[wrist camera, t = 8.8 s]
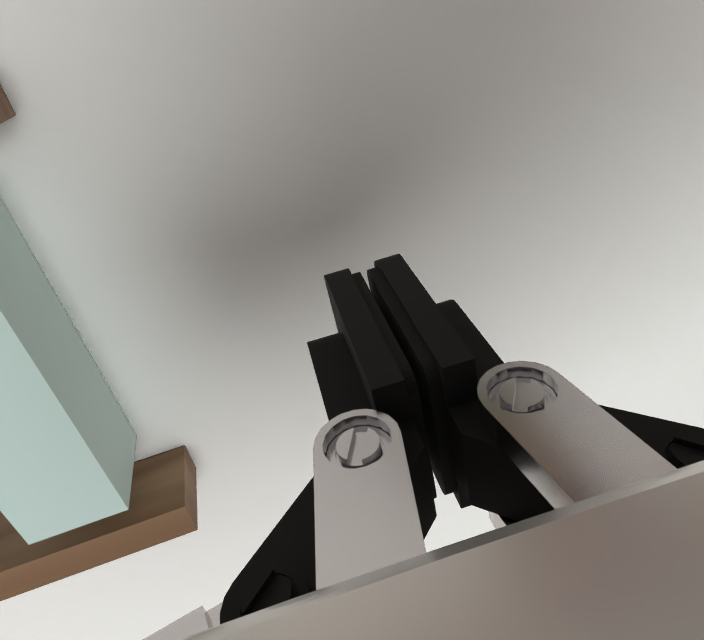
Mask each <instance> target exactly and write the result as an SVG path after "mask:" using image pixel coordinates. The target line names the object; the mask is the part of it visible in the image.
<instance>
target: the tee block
mask: <svg viewBox="0 0 704 640" xmlns="http://www.w3.org/2000/svg"><path fill="white" fill-rule="evenodd" d="M136 439H137V435H136V434H135V432H134V430H133V428H132V427H131V425H130V423H129V421H128V420H127V418H126V416H125V414H124V413H123V411H122V409H121V407H120V406H119V404H118V402H117V400H116V399H115V397H114V395H113V393H112V392H111V390H110V388H109V386H108V385H107V383H106V381H105V379H104V377H103V376H102V374H101V372H100V370H99V369H98V367H97V365H96V363H95V362H94V360H93V358H92V356H91V355H90V353H89V351H88V349H87V348H86V346H85V344H84V342H83V341H82V339H81V337H80V335H79V334H78V332H77V330H76V328H75V327H74V325H73V323H72V321H71V320H70V318H69V316H68V314H67V313H66V311H65V309H64V307H63V306H62V304H61V302H60V300H59V299H58V297H57V295H56V293H55V292H54V290H53V288H52V286H51V285H50V283H49V281H48V279H47V278H46V276H45V274H44V272H43V270H42V269H41V267H40V265H39V263H38V262H37V260H36V258H35V256H34V255H33V253H32V251H31V249H30V248H29V246H28V244H27V242H26V241H25V239H24V237H23V235H22V234H21V232H20V230H19V228H18V227H17V225H16V223H15V221H14V220H13V218H12V216H11V214H10V213H9V211H8V209H7V207H6V206H5V204H4V202H3V200H2V199H1V197H0V511H1V512H2V513H3V515H4V516H5V517H6V518H7V519H8V521H9V522H10V523H11V524H12V525H13V527H14V528H15V529H16V530H17V531H18V533H19V534H20V535H21V536H22V537H23V539H24V540H25V541H26V542H27V543H28V545H30V544H33V543H35V542H38V541H41V540H44V539H47V538H49V537H52V536H55V535H58V534H61V533H64V532H66V531H69V530H72V529H75V528H78V527H81V526H83V525H86V524H89V523H92V522H95V521H98V520H100V519H103V518H106V517H109V516H112V515H115V514H117V513H120V512H123V511H126V510H128V509H129V501H130V492H131V483H132V474H133V465H134V456H135V447H136Z"/></svg>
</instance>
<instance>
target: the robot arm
mask: <svg viewBox="0 0 704 640" xmlns="http://www.w3.org/2000/svg"><path fill="white" fill-rule="evenodd" d="M374 266H375V268H372V269H368V270H367V276H368V281H369V286H370V290H371V291H370V290H369V288H368V286H367V284H366V282H365V280H364V278H363V277H362V275H361V273H360V272H358V273H354V274H351V272H350V270H349V268H348V269H344V270H341V271H337V272H334V273H330V274H327V275H324V278H325V283H326V287H327V291H328V294H329V298H330V302H331V306H332V310H333V314H334V317H335V321H336V325H337V329H338V333H337V334H333V335H330V336H327V337H323V338H320V339H317V340H313V341H310V342H307V344H308V348H309V351H310V355H311V358H312V362H313V366H314V369H315V373H316V376H317V380H318V384H319V387H320V391H321V394H322V398H323V401H324V405H325V409H326V412H327V416H328V419H329V422H328V423H326V424H325V425H324V426H323V427H322V428H321V429H320V431H319V433H318V435H317V436H316V438H315V442H314V448H313V463H314V476H313V478H312V479H311V480H310V482H309V483H308V484H307V486H306V487H305V488H304V490H303V491H302V492H301V494H300V495H299V496H298V498H297V499H296V500H295V501H294V503H293V504H292V505H291V507H290V508H289V509H288V511H287V512H286V513H285V515H284V516H283V517H282V519H281V520H280V521H279V523H278V524H277V525H276V526H275V528H274V529H273V530H272V532H271V533H270V534H269V536H268V537H267V538H266V540H265V541H264V542H263V544H262V545H261V546H260V547H259V549H258V550H257V551H256V553H255V554H254V555H253V557H252V558H251V559H250V561H249V562H248V563H247V565H246V566H245V567H244V569H243V570H242V571H241V572H240V574H239V575H238V576H237V578H236V579H235V580H234V582H233V583H232V585H231V587H230V588H229V590H228V592H227V593H226V595H225V597H224V600H223V602H222V603H220V604H219V605H217V606H215V607H214V608H212V609H210V610H208V611H207V612H206V610H205V609H204V607H203V606H201V607H199V608H197V609H196V610H194V611H192V612H190V613H189V614H187V615H185V616H183V617H182V618H180V619H178V620H176V621H175V622H173V623H171V624H169V625H168V626H166V627H164V628H162V629H161V630H159V631H157V632H155V633H154V634H152V635H150V636H148V637H147V638H145V639H143V640H704V429H703V428H699V427H695V426H690V425H686V424H681V423H677V422H672V421H668V420H664V419H659V418H655V417H650V416H646V415H641V414H637V413H633V412H628V411H624V410H619V409H615V408H611V407H606V406H602V405H598V404H596V403H595V402H594V401H593V400H592V399H590V398H589V397H588V396H587V395H585V394H584V393H583V392H582V391H580V390H579V389H578V388H577V387H575V386H574V385H573V384H572V383H570V382H569V381H568V380H567V379H566V378H564V377H563V376H562V375H561V374H559V373H558V372H556V371H555V370H553V369H551V368H550V367H548V366H545V365H542V364H539V363H536V362H528V361H515V362H507V363H504V362H503V361H502V360H501V359H500V357H499V356H498V355H497V354H496V352H495V351H494V350H493V349H492V347H491V346H490V345H489V343H488V342H487V341H486V340H485V338H484V337H483V336H482V335H481V333H480V332H479V331H478V329H477V328H476V327H475V326H474V324H473V323H472V322H471V321H470V319H469V318H468V317H467V315H466V314H465V313H464V312H463V310H462V309H461V308H460V307H459V305H458V304H457V303H456V302H455V301H454V300H448V301H444V302H441V303H438V304H436V303H435V302H434V301H433V299H432V298H431V296H430V295H429V294H428V292H427V291H426V290H425V288H424V287H423V285H422V284H421V283H420V281H419V280H418V278H417V277H416V276H415V274H414V273H413V271H412V270H411V269H410V267H409V266H408V264H407V263H406V262H405V260H404V259H403V258H402V256H401V255H400V254H397V255H393V256H390V257H386V258H383V259H379V260H376V261H375V262H374ZM432 470H433V471H432ZM433 473H434V475H435V477H436V479H437V481H438V483H439V485H440V488H441V490H442V492H443V493H444V494H445V495H446V494H449V493H452V492H453V493H454V495H455V497H456V499H457V501H458V503H459V505H460V507H461V508H464V507H467V506H470V505H473V506H476V507H479V508H481V509H484V510H487V511H489V518H490V520H491V522H492V524H493V526H494V527H495V530H492V531H489V532H486V533H484V534H481V535H478V536H475V537H472V538H469V539H466V540H463V541H460V542H457V543H454V544H451V545H448V546H445V547H442V548H439V549H436V550H433V551H430V552H427V553H426V549H425V544H424V539H425V537H426V535H427V533H428V531H429V529H430V527H431V525H432V524H433V522H434V520H435V518H436V516H437V514H436V509H435V503H434V498H436V497H437V495H436V489H435V483H434V477H433Z"/></svg>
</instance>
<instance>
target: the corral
mask: <svg viewBox="0 0 704 640" xmlns="http://www.w3.org/2000/svg"><path fill="white" fill-rule="evenodd" d="M13 116H15V113H14V111H13V109H12V107H11V105H10V103H9V101H8V99H7V97H6V95H5V93H4V91H3V89H2V88H1V86H0V123H2V122H4V121H6V120H8V119H9V118H11V117H13ZM196 530H198V527H197V490H196V467H195V465H194V463H193V461H192V459H191V457H190V455H189V453H188V451H187V450H186V448H185V446H182V447H179V448H176V449H173V450H171V451H168V452H165V453H162V454H159V455H156V456H153V457H150V458H147V459H144V460H141V461H138V462H135V463H134V465H133V474H132V483H131V492H130V501H129V509H128V510H126V511H123V512H120V513H117V514H115V515H112V516H109V517H106V518H103V519H100V520H98V521H95V522H92V523H89V524H86V525H83V526H81V527H78V528H75V529H72V530H69V531H66V532H64V533H61V534H58V535H55V536H52V537H49V538H47V539H44V540H41V541H38V542H35V543H33V544H30V545H28V543H27V542H26V541H25V540H24V539H23V537H22V536H21V535H20V534H19V533H18V531H17V530H16V529H15V528H14V527H13V525H12V524H11V523H10V522H9V521H8V519H7V518H6V517H5V516H4V515H3V513H2V512H1V511H0V601H2V600H5V599H8V598H11V597H13V596H16V595H19V594H22V593H25V592H27V591H30V590H33V589H36V588H38V587H41V586H44V585H47V584H49V583H52V582H55V581H58V580H60V579H63V578H66V577H69V576H71V575H74V574H77V573H80V572H82V571H85V570H88V569H91V568H94V567H96V566H99V565H102V564H105V563H107V562H110V561H113V560H116V559H118V558H121V557H124V556H127V555H129V554H132V553H135V552H138V551H140V550H143V549H146V548H149V547H152V546H154V545H157V544H160V543H163V542H165V541H168V540H171V539H174V538H176V537H179V536H182V535H185V534H187V533H190V532H193V531H196Z"/></svg>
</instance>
